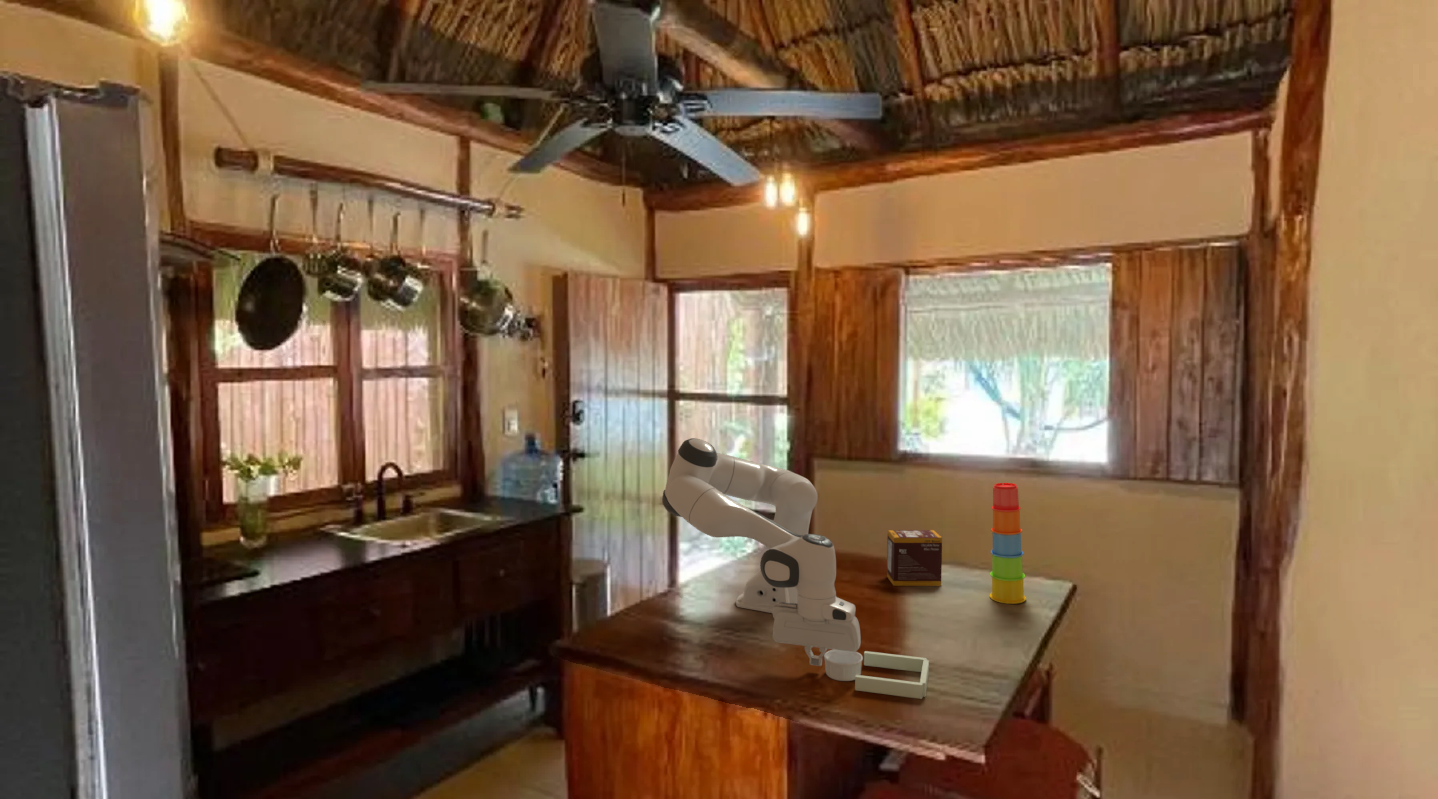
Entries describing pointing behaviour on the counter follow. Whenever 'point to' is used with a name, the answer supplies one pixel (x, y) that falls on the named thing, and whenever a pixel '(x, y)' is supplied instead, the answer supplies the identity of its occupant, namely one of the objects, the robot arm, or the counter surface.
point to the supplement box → (914, 557)
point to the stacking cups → (1006, 546)
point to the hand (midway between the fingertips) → (815, 664)
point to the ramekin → (843, 664)
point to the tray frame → (891, 684)
